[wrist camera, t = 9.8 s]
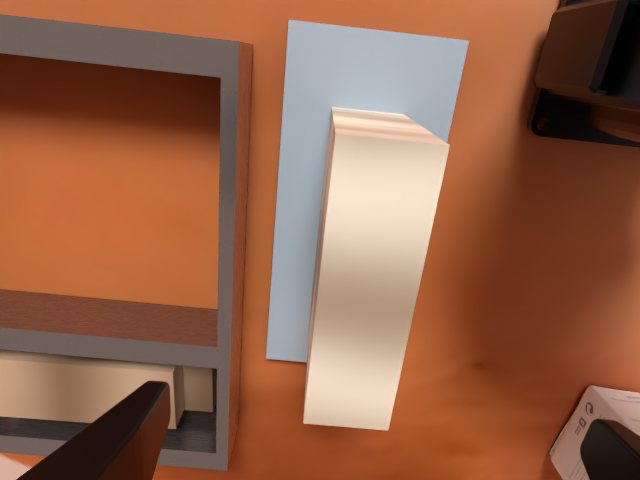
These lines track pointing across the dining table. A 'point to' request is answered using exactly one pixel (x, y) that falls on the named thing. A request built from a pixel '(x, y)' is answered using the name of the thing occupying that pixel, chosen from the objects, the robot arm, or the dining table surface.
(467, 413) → the dining table surface
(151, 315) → the rack
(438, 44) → the mat
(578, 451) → the skincare box
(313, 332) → the beige wooden block
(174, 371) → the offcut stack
